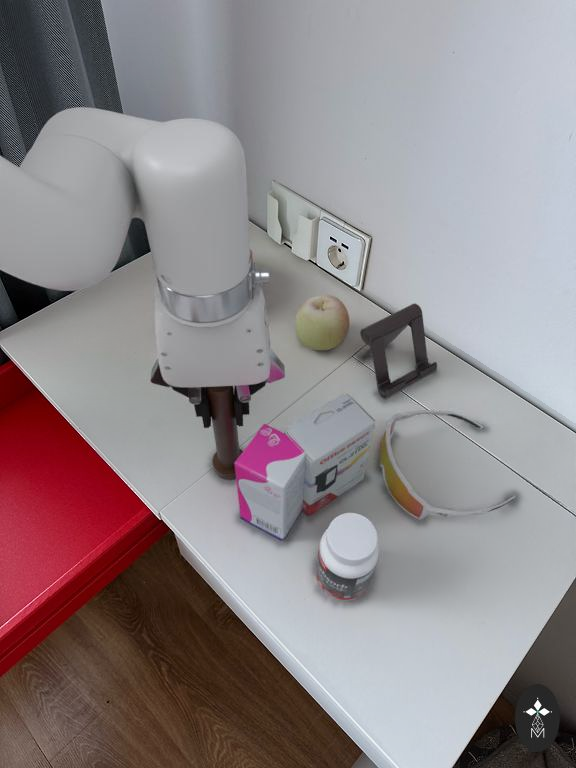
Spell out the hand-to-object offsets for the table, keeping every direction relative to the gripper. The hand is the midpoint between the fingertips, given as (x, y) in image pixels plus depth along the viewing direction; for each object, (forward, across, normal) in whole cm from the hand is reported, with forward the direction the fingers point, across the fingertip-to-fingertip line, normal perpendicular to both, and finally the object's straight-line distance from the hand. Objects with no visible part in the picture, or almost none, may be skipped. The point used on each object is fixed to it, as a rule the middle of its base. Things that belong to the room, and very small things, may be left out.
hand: (223, 415), depth 61 cm
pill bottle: (+10, -12, +14) cm, 21 cm away
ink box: (+10, -11, +3) cm, 15 cm away
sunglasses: (+10, -25, +2) cm, 27 cm away
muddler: (+10, 0, 0) cm, 10 cm away
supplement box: (+10, -5, +6) cm, 13 cm away
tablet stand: (+10, -22, -14) cm, 28 cm away
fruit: (+10, -13, -20) cm, 26 cm away
